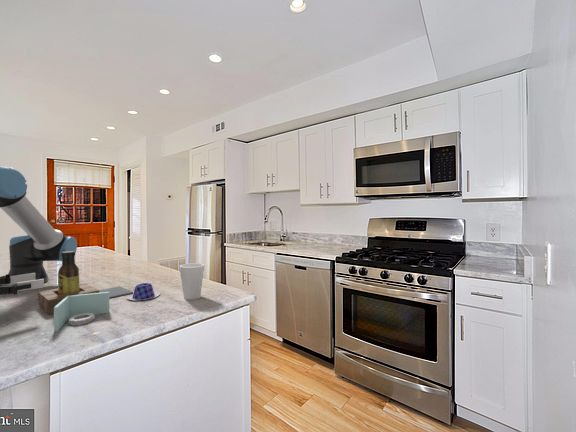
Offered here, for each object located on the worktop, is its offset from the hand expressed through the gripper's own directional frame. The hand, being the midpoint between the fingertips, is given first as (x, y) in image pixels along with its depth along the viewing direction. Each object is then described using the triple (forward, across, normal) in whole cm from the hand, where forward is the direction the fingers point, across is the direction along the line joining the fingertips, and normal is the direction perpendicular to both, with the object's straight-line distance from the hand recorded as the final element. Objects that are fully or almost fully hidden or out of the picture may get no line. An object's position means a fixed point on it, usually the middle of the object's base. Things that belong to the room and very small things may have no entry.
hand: (39, 279), depth 99 cm
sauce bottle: (+8, 0, -11) cm, 14 cm away
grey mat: (+23, -3, -11) cm, 26 cm away
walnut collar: (+8, 0, -11) cm, 14 cm away
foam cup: (+42, +28, -11) cm, 52 cm away
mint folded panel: (+7, +22, -12) cm, 26 cm away
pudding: (+30, +12, -12) cm, 35 cm away
